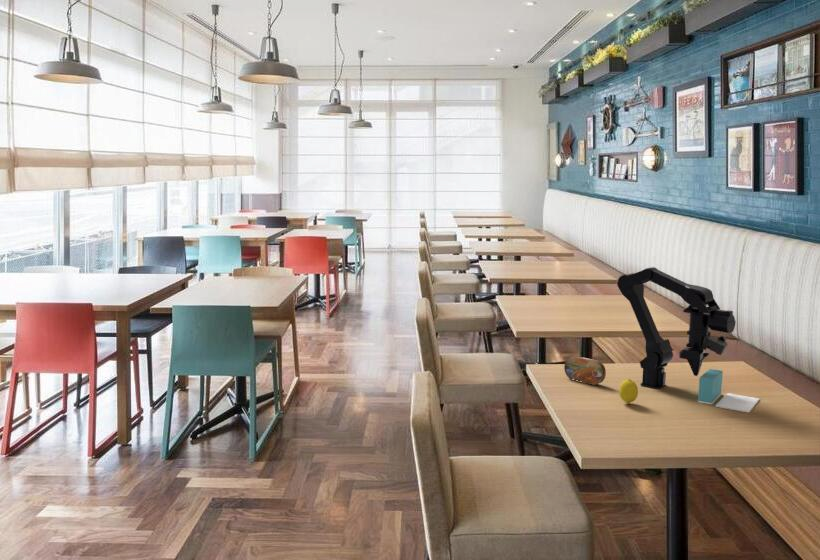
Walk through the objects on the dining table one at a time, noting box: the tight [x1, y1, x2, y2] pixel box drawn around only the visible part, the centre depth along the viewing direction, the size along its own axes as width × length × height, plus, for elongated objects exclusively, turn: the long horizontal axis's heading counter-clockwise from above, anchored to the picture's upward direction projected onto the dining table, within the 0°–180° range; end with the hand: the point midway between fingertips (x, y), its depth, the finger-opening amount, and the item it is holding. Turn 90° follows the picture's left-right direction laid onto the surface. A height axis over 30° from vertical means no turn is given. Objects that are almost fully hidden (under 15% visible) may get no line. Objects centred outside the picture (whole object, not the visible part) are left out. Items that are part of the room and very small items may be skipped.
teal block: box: [697, 368, 724, 405], centre depth 227 cm, size 4×12×8 cm, turn 144°
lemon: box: [618, 378, 639, 405], centre depth 221 cm, size 6×6×8 cm
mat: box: [715, 392, 760, 414], centre depth 223 cm, size 10×15×1 cm, turn 144°
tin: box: [563, 355, 607, 386], centre depth 244 cm, size 15×3×8 cm, turn 44°
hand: (696, 375), depth 229 cm, fingers closed
